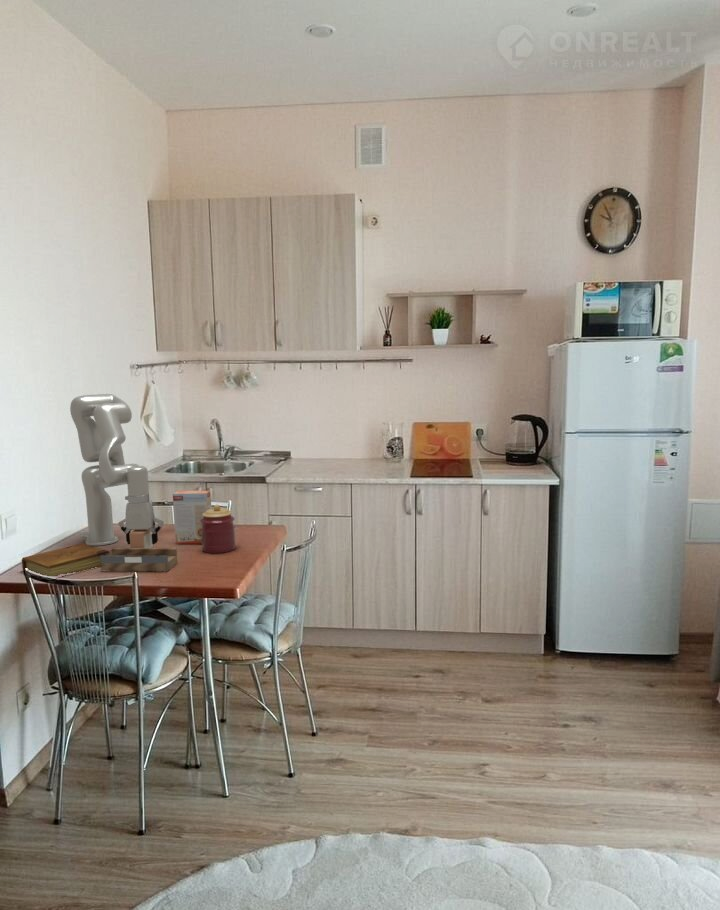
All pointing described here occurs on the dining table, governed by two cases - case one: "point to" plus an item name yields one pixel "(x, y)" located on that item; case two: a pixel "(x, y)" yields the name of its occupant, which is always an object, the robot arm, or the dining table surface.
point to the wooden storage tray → (139, 559)
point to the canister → (218, 530)
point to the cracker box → (190, 515)
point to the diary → (64, 560)
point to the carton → (141, 539)
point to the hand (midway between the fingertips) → (142, 543)
